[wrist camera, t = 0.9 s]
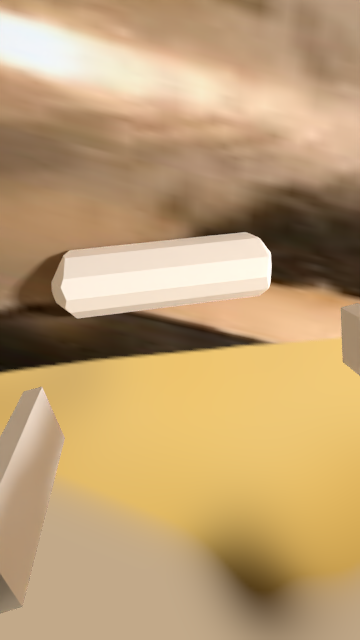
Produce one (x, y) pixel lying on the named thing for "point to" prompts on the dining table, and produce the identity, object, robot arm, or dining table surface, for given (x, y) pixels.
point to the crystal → (161, 274)
